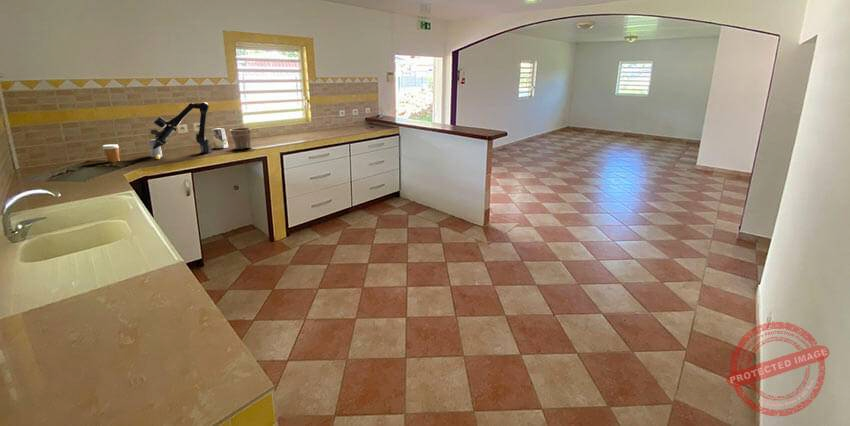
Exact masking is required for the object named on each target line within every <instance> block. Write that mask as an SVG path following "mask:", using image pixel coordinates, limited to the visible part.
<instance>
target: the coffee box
mask: <svg viewBox="0 0 850 426" xmlns="http://www.w3.org/2000/svg"><path fill="white" fill-rule="evenodd" d="M211 134H212V139H213V145H214V149H227V148H229V143H228V142H229V141H228V137H227V132H226V128H224V127H223V128H220V127H219V128H217V127H216V128H211Z"/></svg>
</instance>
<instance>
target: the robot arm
mask: <svg viewBox="0 0 850 426" xmlns="http://www.w3.org/2000/svg"><path fill="white" fill-rule="evenodd" d="M209 108H210V105H209V103H208V102H205V101H203V102H201V103H199V102H197V103H196V102H195V103H194V102H190V103H189V104H188V105H187V106H186V107H185V108H184V109H182V111H181V112H180V113H179V114H178V115H176V116H175V117H173V118H172V119H170V120H165V119H164V118H162V116H159V117H158V118H157V119H156V120H154V121H153V124H154V125H155V126H157V127H158V128H160V129H162V130H160V131H159V130H158V129H151V130H150V134H151V135H155V136H154V139H156V143H155V145H154V147H153V149H155V148H157V147H162V146H164V145H166V143H167V139H168V138H170V135H171V134H172V133H173V132H174V131H175V132H178V130H177V129H178V128H177V127H178V126H179V125H180V124H181V122H182V121H183V119H184V118H185V117H186V116H187V115H188V114H189V113H190V112H191V111H192V110H193V109H196V110H197V109H198V110H199V112H200V115H199V116H200V118H199V119H200V121H199V130H198V132H197V133H196V134H195V136H196V137H195V140H196V143H198V144H199V148H200V154H210V153H212V152H213V150H212V149H211V144H210V141H209V140H208V139H207V137H206V136H207V135H206V124H207V114H208V111H209Z"/></svg>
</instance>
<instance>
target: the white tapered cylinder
mask: <svg viewBox="0 0 850 426" xmlns="http://www.w3.org/2000/svg"><path fill="white" fill-rule="evenodd" d="M147 143H148V147H149V152H150V157H151V158H155V156H156V155H160V158H161V157H163V152H162V148H161V147H162V146H160V147H157V148H155V149H153V147H154V145H155V143H156V139H155V138H154V139H148V140H147Z"/></svg>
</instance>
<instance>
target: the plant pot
mask: <svg viewBox="0 0 850 426" xmlns="http://www.w3.org/2000/svg"><path fill="white" fill-rule="evenodd" d="M229 131H230V135H232V140H233V144H234V147H235V149H236V150H246V149H245V148H249V149H251V148H252V144H251V127H236V128H230V129H229Z"/></svg>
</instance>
